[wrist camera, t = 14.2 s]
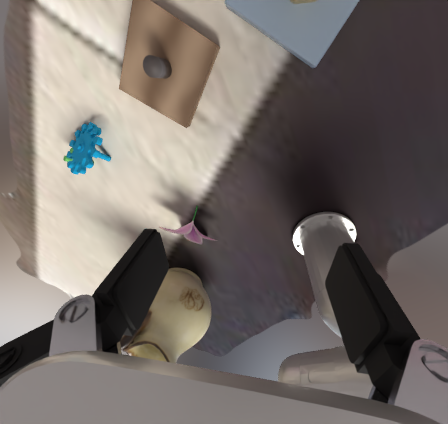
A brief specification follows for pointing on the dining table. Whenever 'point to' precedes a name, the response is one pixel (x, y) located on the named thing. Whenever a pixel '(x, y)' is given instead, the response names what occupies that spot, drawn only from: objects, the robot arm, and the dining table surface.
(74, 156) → the gear
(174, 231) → the lily
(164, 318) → the pitcher
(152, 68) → the rod stand
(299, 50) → the hub plate
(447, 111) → the dining table surface
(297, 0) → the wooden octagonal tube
